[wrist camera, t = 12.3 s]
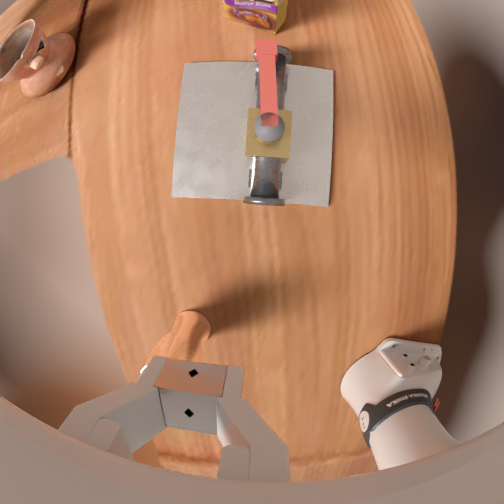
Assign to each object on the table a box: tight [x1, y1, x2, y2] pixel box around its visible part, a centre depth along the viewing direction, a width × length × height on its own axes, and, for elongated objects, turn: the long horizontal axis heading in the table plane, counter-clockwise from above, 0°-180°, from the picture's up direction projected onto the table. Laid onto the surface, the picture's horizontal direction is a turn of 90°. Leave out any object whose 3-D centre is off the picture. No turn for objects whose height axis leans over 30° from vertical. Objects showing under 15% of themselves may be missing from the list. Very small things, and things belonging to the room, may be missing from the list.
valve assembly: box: [172, 45, 333, 207], centre depth 31 cm, size 22×21×8 cm
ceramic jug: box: [0, 19, 75, 98], centre depth 25 cm, size 18×14×14 cm
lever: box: [255, 39, 285, 143], centre depth 26 cm, size 13×3×2 cm, turn 1°
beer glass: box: [140, 311, 211, 377], centre depth 35 cm, size 7×7×15 cm
